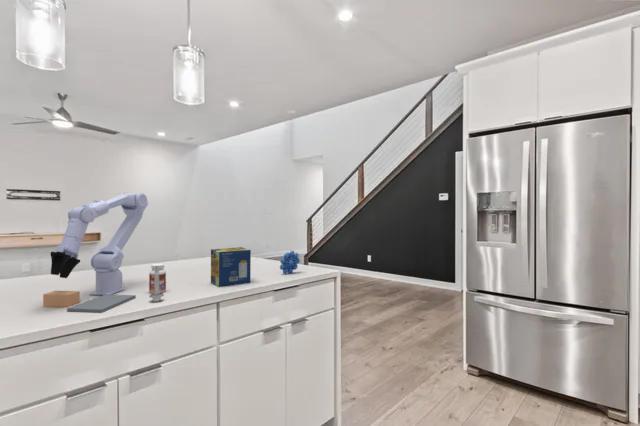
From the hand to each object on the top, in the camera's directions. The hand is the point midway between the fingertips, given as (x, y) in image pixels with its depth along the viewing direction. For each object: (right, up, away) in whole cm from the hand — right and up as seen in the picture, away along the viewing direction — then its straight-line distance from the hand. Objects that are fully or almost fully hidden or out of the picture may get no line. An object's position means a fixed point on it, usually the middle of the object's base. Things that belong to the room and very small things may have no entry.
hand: (58, 276), depth 116 cm
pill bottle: (+24, -11, +21) cm, 34 cm away
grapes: (+74, -10, +62) cm, 97 cm away
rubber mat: (+13, -10, +3) cm, 17 cm away
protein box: (+49, -11, +39) cm, 63 cm away
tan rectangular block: (-1, -11, +2) cm, 11 cm away
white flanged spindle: (+30, -11, +8) cm, 33 cm away
